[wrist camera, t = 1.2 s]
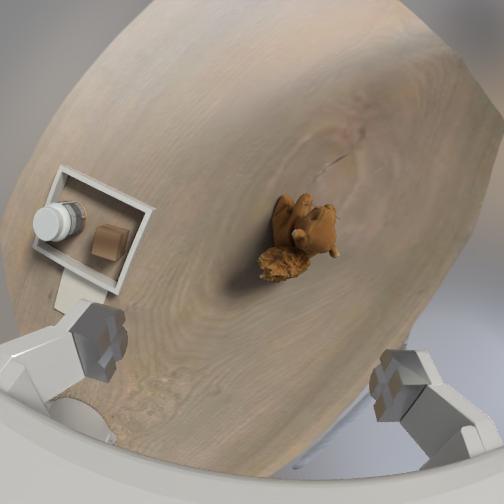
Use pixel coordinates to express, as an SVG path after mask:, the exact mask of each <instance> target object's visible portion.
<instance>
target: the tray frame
mask: <svg viewBox="0 0 504 504" xmlns="http://www.w3.org/2000/svg"><path fill="white" fill-rule="evenodd" d="M68 175H70V176H72V177H74V178H76V179H78V180H80V181H82V182H84V183H86V184H88V185H90V186H92V187H94V188H96V189H98V190H100V191H102V192H104V193H106V194H108V195H110V196H112V197H115V198H117V199H119V200H121V201H123V202H125V203H127V204H129V205H131V206H133V207H135V208H137V209H139V210H141V211H143V212H145V216H144V218H143V220H142V222H141V225H140V227H139V229H138V232H137V234H136V236H135V239H134V241H133V244H132V246H131V249H130V251H129V254H128V256H127V259H126V261H125V264H124V266H123V269H122V272H121V274H120V277H119V280H118V282H117V281H115V280H113V279H111V278H109V277H107V276H105V275H103V274H101V273H99V272H97V271H96V270H94V269H92V268H90V267H88V266H86V265H84V264H82V263H81V262H79V261H77V260H75V259H73V258H72V257H70V256H68V255H66V254H64V253H63V252H61V251H59V250H57V249H56V248H54V247H52V246H50V245H49V244H47V243H45V242H46V241H43V240H41V239H40V238H38V237H37V235H36V237H35V241H34V244H33V248H34V249H35V250H37V251H38V252H40V253H42V254H43V255H45V256H47V257H48V258H50V259H52V260H54V261H55V262H57V263H59V264H60V265H62V266H64V267H66V268H67V269H69V270H71V271H73V272H75V273H76V274H78V275H80V276H82V277H84V278H86V279H87V280H89V281H91V282H93V283H95V284H97V285H99V286H101V287H102V288H104V289H106V290H108V291H110V292H112V293H114V294H116V295H119V294H120V292H121V291H122V290H123V288H124V285H125V283H126V280H127V278H128V275H129V272H130V270H131V267H132V265H133V262H134V260H135V257H136V255H137V252H138V250H139V248H140V245H141V243H142V240H143V238H144V236H145V233H146V231H147V229H148V227H149V224H150V222H151V220H152V218H153V215H154V213H155V211H156V208H154V207H152V206H150V205H147V204H145V203H143V202H141V201H139V200H137V199H135V198H133V197H131V196H129V195H127V194H125V193H123V192H121V191H119V190H116V189H114V188H112V187H110V186H108V185H106V184H104V183H102V182H100V181H98V180H96V179H94V178H92V177H90V176H88V175H86V174H84V173H81V172H79V171H77V170H75V169H73V168H71V167H69V166H64V165H60V166H59V169H58V171H57V174H56V177H55V179H54V182H53V184H52V187H51V190H50V193H49V196H48V198H47V201H46V204H45V207H46V206H47V205H48V204H50V203H54V202H59V199H60V196H61V193H62V191H63V188H64V185H65V183H66V180H67V178H68Z"/></svg>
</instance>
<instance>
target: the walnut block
mask: <svg viewBox="0 0 504 504" xmlns="http://www.w3.org/2000/svg"><path fill="white" fill-rule="evenodd" d="M128 234H129V230H126V229H123V228H119V227H116V226H112V225H109V224H106V225H103V226H100V227H97V228H96V232H95V237H94V242H93V247H92V253H91V254H94V255H97V256H100V257H103V258H106V259H110V260H113V261H116V260H117V259H118V258H120V257H121V256H122V255H124V252H125V248H126V243H127V238H128Z"/></svg>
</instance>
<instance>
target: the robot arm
mask: <svg viewBox="0 0 504 504" xmlns="http://www.w3.org/2000/svg"><path fill="white" fill-rule="evenodd" d="M124 322H125V314H124V311H122V310H121V309H118V308H114V307H111V306H107V305H103V304H100V303H97V302H92V301H89V300H85V299H80V300H78V301H77V302H76V303H75V305H74V306H73V307H72V308H71V309H70V310H69V311H68V312H67V313H66V314H65V316H64V317H63V318H62V319H61V320H60V321H59V322H58V323H57V325H56V326H55V327H54V326H48V327H46V328H43V329H40V330H38V331H35V332H33V333H30V334H27V335H25V336H22V337H19V338H17V339H14V340H11V341H9V342H6V343H3V344H1V345H0V504H504V445H503V443H502V441H501V438H500V436H499V433H498V431H497V430H496V427H495V425H494V422H493V421H492V419H491V418H490V417H488V416H487V415H486V414H484V413H483V412H482V411H481V410H479V409H478V408H477V407H476V406H474V405H473V404H472V403H471V402H469V401H468V400H467V399H466V398H464V397H463V396H462V395H460V394H459V393H458V392H457V391H455V390H454V389H453V388H452V387H450V386H449V385H448V384H443V382H442V380H441V378H440V375H439V373H438V372H437V369H436V367H435V365H434V363H433V361H432V359H431V357H430V355H429V354H428V352H427V351H425V350H412V351H411V350H389V349H386V350H385V351H384V352H383V353H382V355H381V357H380V361H381V364H380V365H378V366H377V367H375V368H374V370H373V372H372V374H371V377H370V382H369V390H370V394H371V396H372V397H373V398H374V399H375V400H376V403H375V404H374V410H375V414H376V418H377V421H378V422H396V421H397V422H398V421H400V424H401V425H402V426H403V427H404V428H405V430H406V431H407V432H408V433H409V434H410V436H411V437H412V438H413V439H414V440H415V441H416V443H417V444H418V445H419V446H420V447H421V449H422V450H423V451H424V452H425V453H426V454H427V456H428V457H429V458H430V459H429V461H427V462H426V463H425V464H424V465H423V466H422V467H421V468H420V469H419V471H413V472H407V473H402V474H394V475H386V476H377V477H367V478H354V479H332V480H299V479H277V478H264V477H254V476H245V475H237V474H230V473H223V472H217V471H211V470H205V469H200V468H195V467H190V466H185V465H181V464H177V463H172V462H168V461H164V460H161V459H157V458H153V457H150V456H146V455H143V454H139V453H136V452H133V451H130V450H127V449H124V448H121V447H118V446H115V445H114V444H115V442H116V441H117V439H118V438H117V436H116V435H115V434H114V433H113V432H112V431H111V430H110V429H109V428H108V426H107V424H106V422H105V420H104V419H103V418H102V417H101V415H100V414H99V413H98V412H96V411H95V410H94V409H93V408H91V407H90V406H88V405H87V404H85V403H83V402H81V401H78V400H75V399H71V398H60V399H57V400H55V401H48V400H50V399H52V398H53V397H55V396H56V395H58V394H60V393H61V392H63V391H64V390H66V389H67V388H69V387H71V386H72V385H74V384H75V383H77V382H79V381H80V380H82V379H83V378H85V376H87V377H90V378H93V379H96V380H99V381H103V382H106V383H109V381H110V379H111V378H112V376H113V374H114V372H115V370H116V364H115V362H117V361H119V360H121V359H122V358H123V356H124V354H125V352H126V348H127V344H128V335H127V331H126V330H125V328H124V327H123V326H122V325H123V324H124Z"/></svg>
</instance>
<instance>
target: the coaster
mask: <svg viewBox="0 0 504 504" xmlns="http://www.w3.org/2000/svg"><path fill="white" fill-rule="evenodd" d="M107 294H108V290H106V289H104V288H102V287H101V286H99V285H97V284H95V283H93V282H91V281H89V280H87V279H86V278H84V277H82V276H80V275H78V274H76V273H75V272H73V271H71V270H69V269H67V268H66V267H64V271H63V275H62V278H61V282H60V286H59V290H58V294H57V298H56V302H55V306H54V308H55V309H57V310H58V311H60V312H62V313H64V314H66V313H67V312H68V311H69V310H70V309H71V308H72V307H73V306H74V305H75V303H76V302H77V301H78V300H80V299H85V300H89V301H92V302H97V303H100V304H103V305H104V303H105V300H106V297H107Z"/></svg>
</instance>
